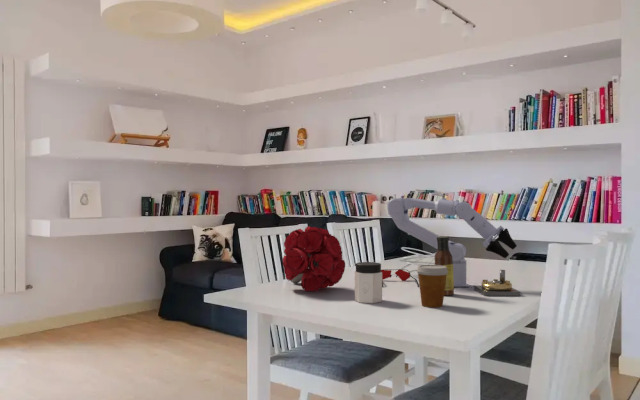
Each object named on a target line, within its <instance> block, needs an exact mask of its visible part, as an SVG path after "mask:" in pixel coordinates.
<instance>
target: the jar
mask: <svg viewBox="0 0 640 400" xmlns="http://www.w3.org/2000/svg"><path fill="white" fill-rule="evenodd" d="M381 270H382V264H381V262H377V261H376V262H375V261H374V262H373V261H361V262H356V263H355V271H354V300H355V302H358V303H359V304H360V303H361V304H377V303H382V302H383V287H382V272H381Z"/></svg>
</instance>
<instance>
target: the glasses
mask: <svg viewBox="0 0 640 400" xmlns="http://www.w3.org/2000/svg"><path fill="white" fill-rule="evenodd" d="M392 271H395V272H394V275H395V277H396V278H399V279H400V280H401V281H406V280H409V279H410V278H412V279H413V280H414V281H415V282H416V286H417V288H420V286H419V280H417V278H415V277H414V276H413V275H411V272H410V271H409V270H408V269H405V268H404V269H401V268H399V269H398V268H397V269H391V268H390V269H387V268H386V269H385V268H384V269H381V272H382V288H384V280H385V279H389V278H390V279H391V278H392V276H393V275H392Z"/></svg>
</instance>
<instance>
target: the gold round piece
mask: <svg viewBox="0 0 640 400" xmlns="http://www.w3.org/2000/svg"><path fill="white" fill-rule="evenodd" d="M512 284H513V283H512V282H511V281H510V280H506V269H499V279H498V278H493V280H488V279H482V282H481V286H482V288H484V289H488V290H499V291H504V290H511V289H512V288H513V285H512Z"/></svg>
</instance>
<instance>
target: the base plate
mask: <svg viewBox="0 0 640 400" xmlns="http://www.w3.org/2000/svg"><path fill="white" fill-rule="evenodd" d="M473 289H474V291H476V292H477V293H479V294H480V295H483V296H484V297H521V291H519V290H518V289H516V288H514V287H512V289H511V290H504V291H499V290H488V289H484V288H482V285H474V286H473Z"/></svg>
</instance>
